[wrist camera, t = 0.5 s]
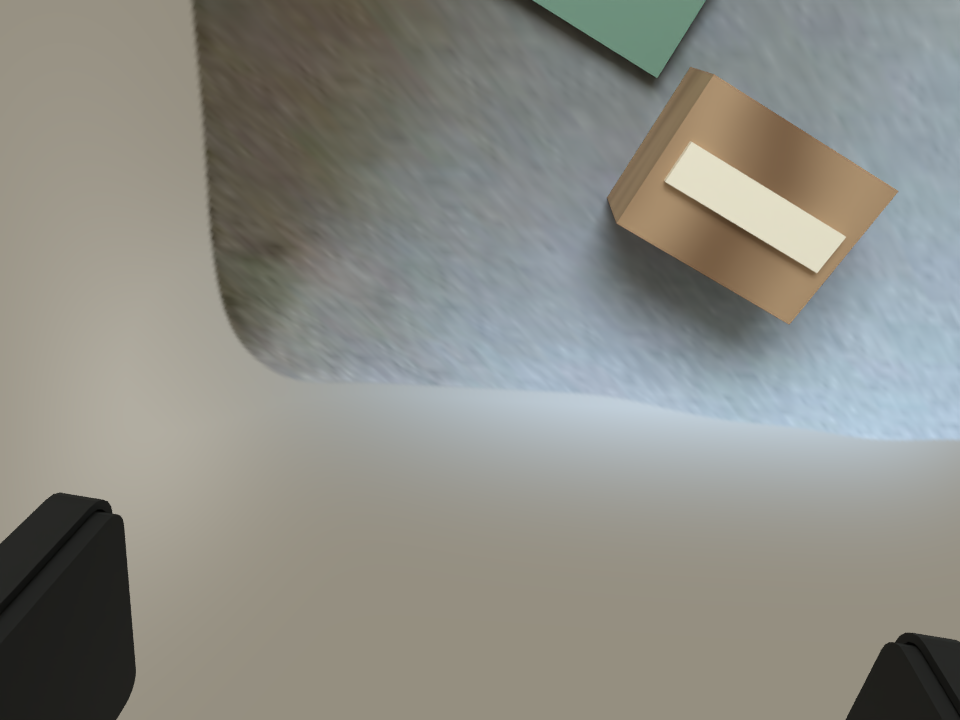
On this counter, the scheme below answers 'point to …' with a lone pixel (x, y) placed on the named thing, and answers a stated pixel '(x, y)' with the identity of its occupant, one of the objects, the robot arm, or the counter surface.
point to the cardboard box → (745, 196)
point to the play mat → (631, 26)
